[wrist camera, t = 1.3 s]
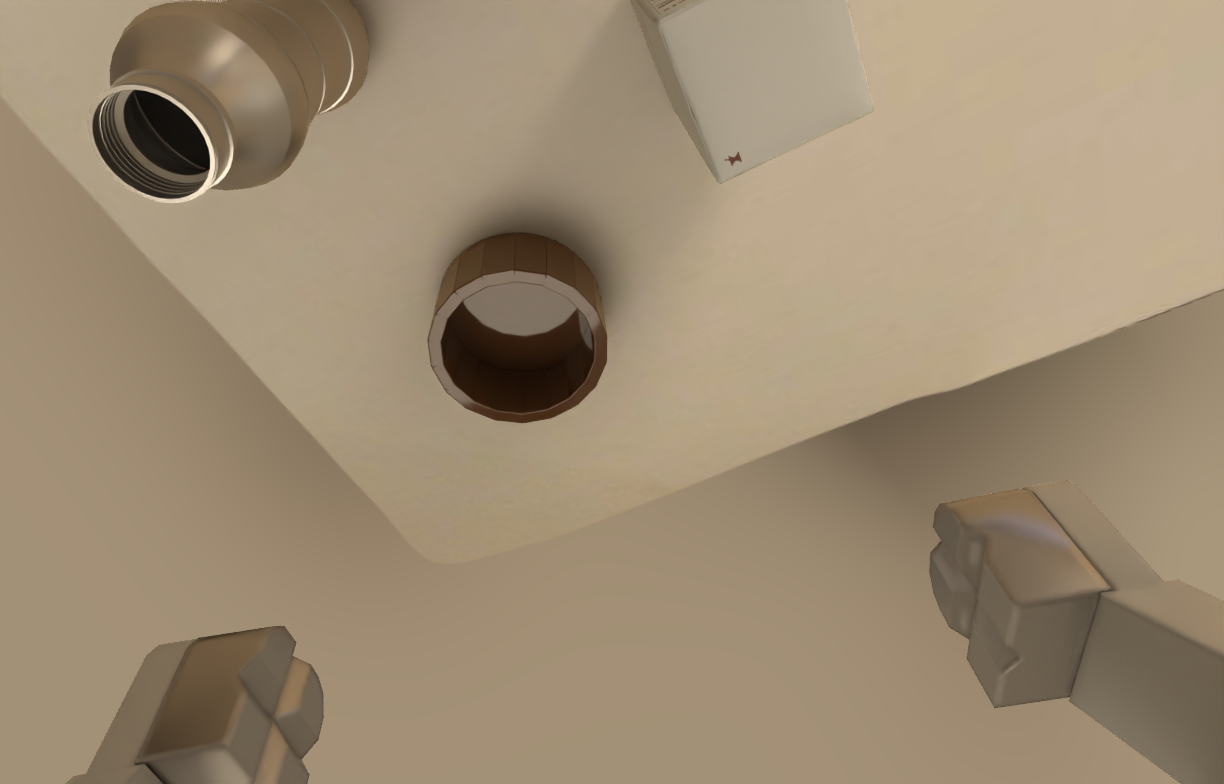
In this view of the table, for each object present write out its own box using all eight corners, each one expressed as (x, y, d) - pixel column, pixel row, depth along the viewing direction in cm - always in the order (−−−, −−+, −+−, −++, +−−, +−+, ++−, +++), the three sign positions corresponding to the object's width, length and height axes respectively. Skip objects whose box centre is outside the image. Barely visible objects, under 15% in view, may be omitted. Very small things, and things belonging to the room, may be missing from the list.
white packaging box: (796, 57, 42) (879, 117, 32) (673, 115, 44) (715, 191, 33) (756, -86, 38) (837, -69, 28) (622, -17, 40) (652, 22, 29)
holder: (416, 249, 47) (403, 289, 42) (586, 218, 47) (592, 255, 42) (462, 387, 53) (455, 435, 48) (613, 360, 53) (620, 406, 48)
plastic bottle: (312, 123, 42) (169, 283, 26) (217, 9, 39) (-20, 109, 22) (403, 56, 41) (312, 181, 24) (312, -69, 37) (133, -22, 21)
